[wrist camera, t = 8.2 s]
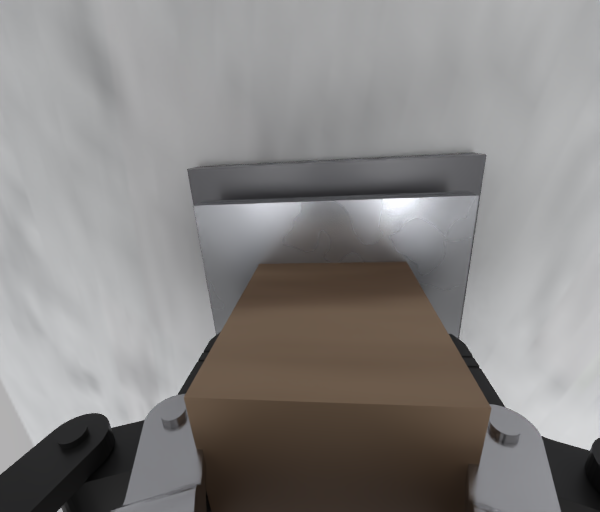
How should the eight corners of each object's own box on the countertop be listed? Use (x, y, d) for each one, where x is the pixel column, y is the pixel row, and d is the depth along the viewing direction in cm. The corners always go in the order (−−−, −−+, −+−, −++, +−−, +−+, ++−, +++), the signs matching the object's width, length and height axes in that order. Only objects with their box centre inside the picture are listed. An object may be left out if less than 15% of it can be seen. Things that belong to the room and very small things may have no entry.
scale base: (197, 166, 13) (98, 190, 8) (474, 153, 12) (598, 169, 6) (232, 377, 17) (184, 494, 12) (442, 383, 16) (502, 517, 10)
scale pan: (213, 195, 12) (193, 205, 10) (456, 185, 11) (479, 195, 9) (245, 407, 16) (235, 441, 14) (428, 414, 15) (441, 451, 13)
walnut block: (259, 263, 11) (183, 397, 5) (406, 261, 10) (491, 408, 5) (271, 377, 13) (224, 565, 7) (398, 380, 12) (453, 587, 7)
